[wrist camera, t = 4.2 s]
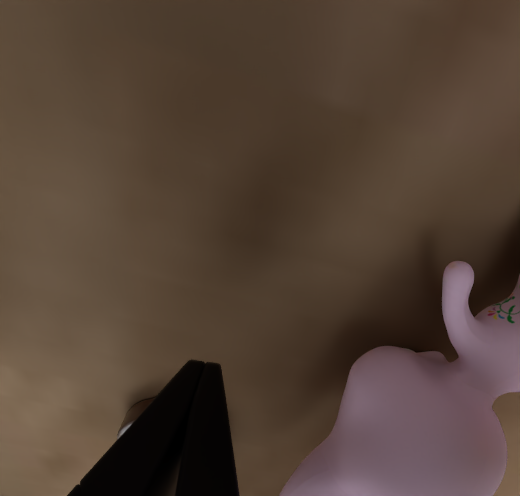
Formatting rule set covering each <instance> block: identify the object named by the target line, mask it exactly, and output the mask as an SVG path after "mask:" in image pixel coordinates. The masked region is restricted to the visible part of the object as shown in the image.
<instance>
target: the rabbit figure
mask: <svg viewBox="0 0 520 496" xmlns="http://www.w3.org/2000/svg"><path fill="white" fill-rule="evenodd" d="M473 282H474V271H473V269H472V267H471V266H470V265H469V264H468V263H466V262H463V261H454V262H451V263H449V264H448V265H447V267H446V268H445V270H444V274H443V289H442V312H443V318H444V322H445V325H446V329H447V332H448V336H449V339H450V341H451V343H452V345H453V346H454V348H455V349H456V351H457V354H458V356H459V357H458V358H457V359H456V360H455V361H453V362H450V363H448V361H447V360H446V358H445V356H444V355H443V354H442V353H440V352H438V351H426V352H420V353H415V352H414V351H412V350H410V349H407V348H400V347H395V346H381V347H377V348H374V349H372V350H370V351H368V352H366V353H365V354H364V355H362V356H361V357H360V358H358V359H357V360H356V362H355V363H354V364H353V366H352V367H351V370H350V373H349V376H348V380H347V384H346V387H345V390H344V393H343V396H342V400H341V404H340V408H339V412H338V416H337V420H336V423H335V425H334V428H333V430H332V431H331V433H330V434H329V436H328V437H327V438H326V439H325V440H324V441H323V442H322V443H321V444H319V445H318V446H317V447H316V448H315V449H314V450H313V451H312V452H311V453H310V454H309V455H308V456H307V457H306V458H305V459H304V460H303V461H302V462H301V464H300V465H299V466H298V467H297V468H296V470H295V471H294V473H293V474H292V475H291V477H290V478H289V480H288V481H287V483H286V484H285V486H284V488H283V489H282V491H281V493H280V495H279V496H492V495H493V494H494V493H495V491H496V490H497V488H498V487H499V485H500V483H501V481H502V479H503V476H504V473H505V469H506V465H507V444H506V439H505V436H504V432H503V429H502V427H501V424H500V422H499V420H498V418H497V416H496V414H495V412H494V411H493V409H492V405H493V402H494V400H495V399H496V398H497V397H498V396H500V395H502V394H505V393H508V392H520V275H519V278H518V281H517V285H516V287H515V289H514V291H513V292H512V293H511V295H510V296H509V297H508V298H506V299H505V300H503V301H501V302H499V303H496V304H493V305H491V306H489V307H487V308H485V309H484V310H482V311H481V312H479V313H478V314H477V315H476V316H475V317H473V315H472V314H471V312H470V309H469V305H468V297H469V293H470V291H471V288H472V285H473Z"/></svg>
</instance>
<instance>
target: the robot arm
mask: <svg viewBox="0 0 520 496" xmlns="http://www.w3.org/2000/svg"><path fill="white" fill-rule="evenodd" d="M67 496H240V495H239V488H238V481H237V474H236V467H235V460H234V453H233V446H232V439H231V432H230V425H229V418H228V411H227V404H226V397H225V390H224V383H223V376H222V369H221V365H220V364H219V363H212V362H206V363H204V362H203V361H198V360H189V361H188V362H187V363H186V364H185V365H184V366H183V367H182V368H181V369H180V371H179V372H178V373H177V374H176V375H175V376H174V377H173V378H172V379H171V381H170V382H169V383H168V384H167V385H166V386H165V387H164V388H163V390H162V391H161V392H160V393H159V394H158V395H157V396H156V397H155V398H154V400H153V401H152V402H151V403H150V404H149V405H148V406H147V407H146V408H145V410H144V411H143V412H142V413H141V414H140V415H139V416H138V417H137V418H136V420H135V421H134V422H133V423H132V424H131V425H130V426H129V427H128V429H127V430H126V431H125V432H124V433H123V434H122V435H121V436H120V437H119V439H118V440H117V441H116V442H115V443H114V444H113V445H112V446H111V447H110V449H109V450H108V451H107V452H106V453H105V454H104V455H103V456H102V457H101V459H100V460H99V461H98V462H97V463H96V464H95V465H94V466H93V468H92V469H91V470H90V471H89V472H88V473H87V474H86V475H85V476H84V478H83V479H82V480H81V481H80V485H79V484H78V485H76V486H75V487H74V488H73V490H72V491H71V492H70V493H69V494H68V495H67Z"/></svg>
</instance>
